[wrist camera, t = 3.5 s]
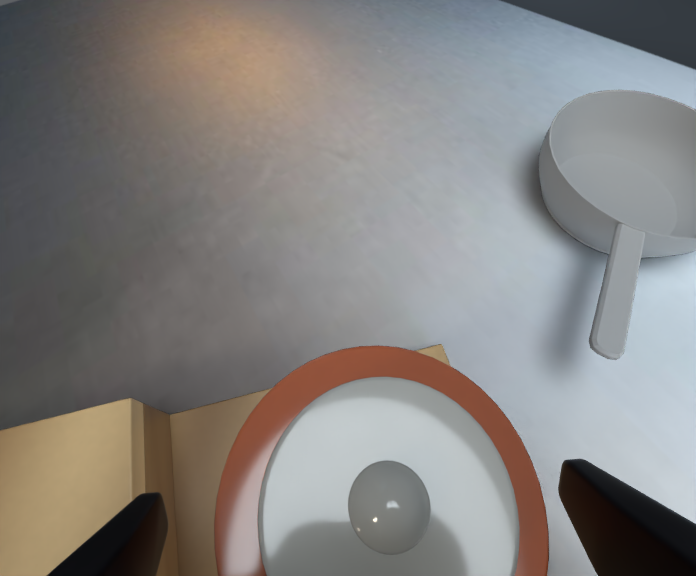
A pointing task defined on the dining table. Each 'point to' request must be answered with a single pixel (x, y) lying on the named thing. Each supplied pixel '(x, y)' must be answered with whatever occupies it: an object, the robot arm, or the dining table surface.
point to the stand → (118, 478)
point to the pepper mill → (379, 476)
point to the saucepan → (622, 191)
